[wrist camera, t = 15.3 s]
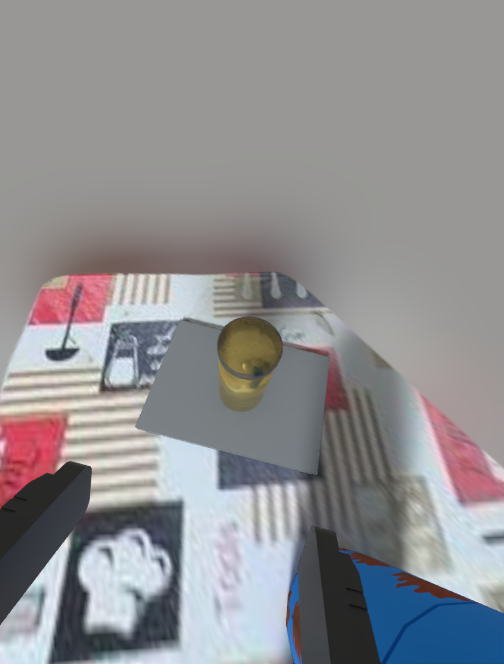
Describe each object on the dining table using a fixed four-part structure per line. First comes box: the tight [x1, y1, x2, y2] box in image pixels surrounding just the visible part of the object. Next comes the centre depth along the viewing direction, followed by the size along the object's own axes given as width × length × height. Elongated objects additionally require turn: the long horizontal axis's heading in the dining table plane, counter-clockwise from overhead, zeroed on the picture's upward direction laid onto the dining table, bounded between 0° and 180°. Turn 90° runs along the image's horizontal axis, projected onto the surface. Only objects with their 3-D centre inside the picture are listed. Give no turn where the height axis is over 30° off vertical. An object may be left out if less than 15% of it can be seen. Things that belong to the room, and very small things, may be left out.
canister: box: [217, 317, 283, 412], centre depth 29 cm, size 5×5×12 cm
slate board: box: [135, 320, 330, 475], centre depth 35 cm, size 20×14×1 cm
